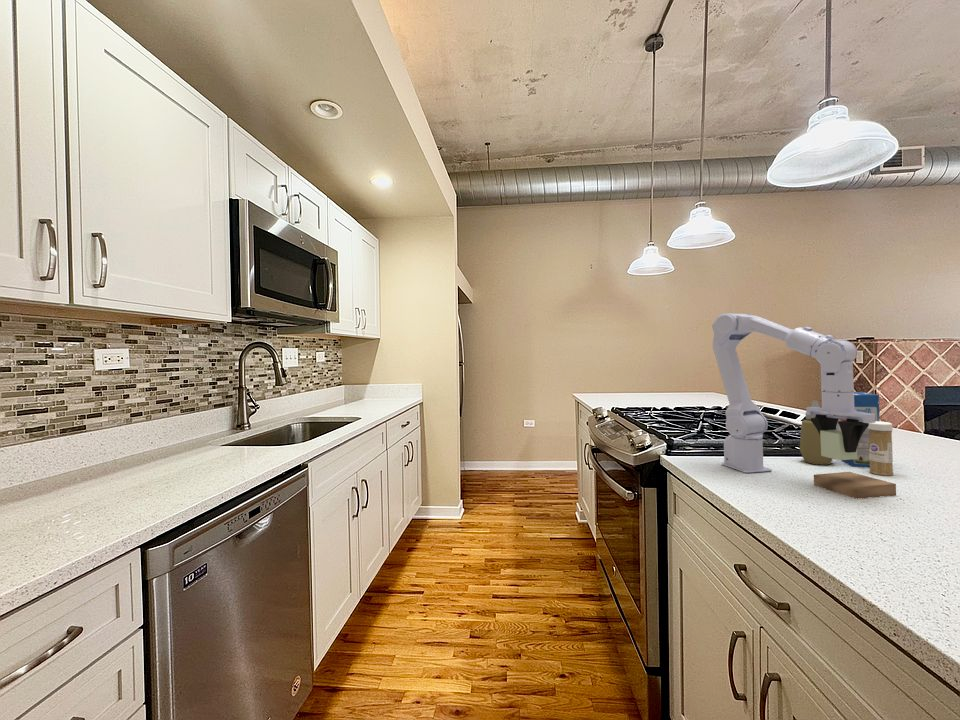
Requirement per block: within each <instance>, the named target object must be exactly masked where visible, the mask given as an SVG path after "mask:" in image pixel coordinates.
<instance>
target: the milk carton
mask: <svg viewBox="0 0 960 720" xmlns="http://www.w3.org/2000/svg"><path fill="white" fill-rule="evenodd" d="M854 410H855V411H860V412H865V413H871V414H875V421H880V422H881V420H880V417H881V416H880V395H879V394H875V393H870V392H865V391H864V392H863V391H854ZM835 416H839V415H835ZM841 417H844V416H841ZM849 418H850V417H849ZM838 421H846V420H845V419H839V420H838ZM836 430H841V428H840V426H839V424H838V422H837V425H836ZM840 461H841V462H842V463H845V464H847V465H848V466H850V467H853V468H854V467H855V468H868V469H870V459H869V429H868V427H867V428H866V430H865V431H864V432H863V434H862V436H861V438H860V440H859V443H858V446H857V459H851V460H840Z"/></svg>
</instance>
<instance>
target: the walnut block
mask: <svg viewBox="0 0 960 720" xmlns="http://www.w3.org/2000/svg"><path fill="white" fill-rule="evenodd" d="M813 486H815V487H818V486H819V487H818V488H821V487H822V489H824V488H825V490H828V491H832V492H835V493H837V492H838V494H840V495H843V494H844V496H846V495H847V497H850V498H853V497H854V498H853V499H856V498H857V499H856V500H859V499H858V498H862V499H869V498H868V497H873V498H881V497H880V496H884V497H892V496H893V495H895V496H897V484H896V483H894V482H891V481H886V480H882V479H878V478H875V477H870V476H867V475H863V474H860V473H856V472H852V471H843V472H830V473H829V472H827V473H815V474H813Z"/></svg>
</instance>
